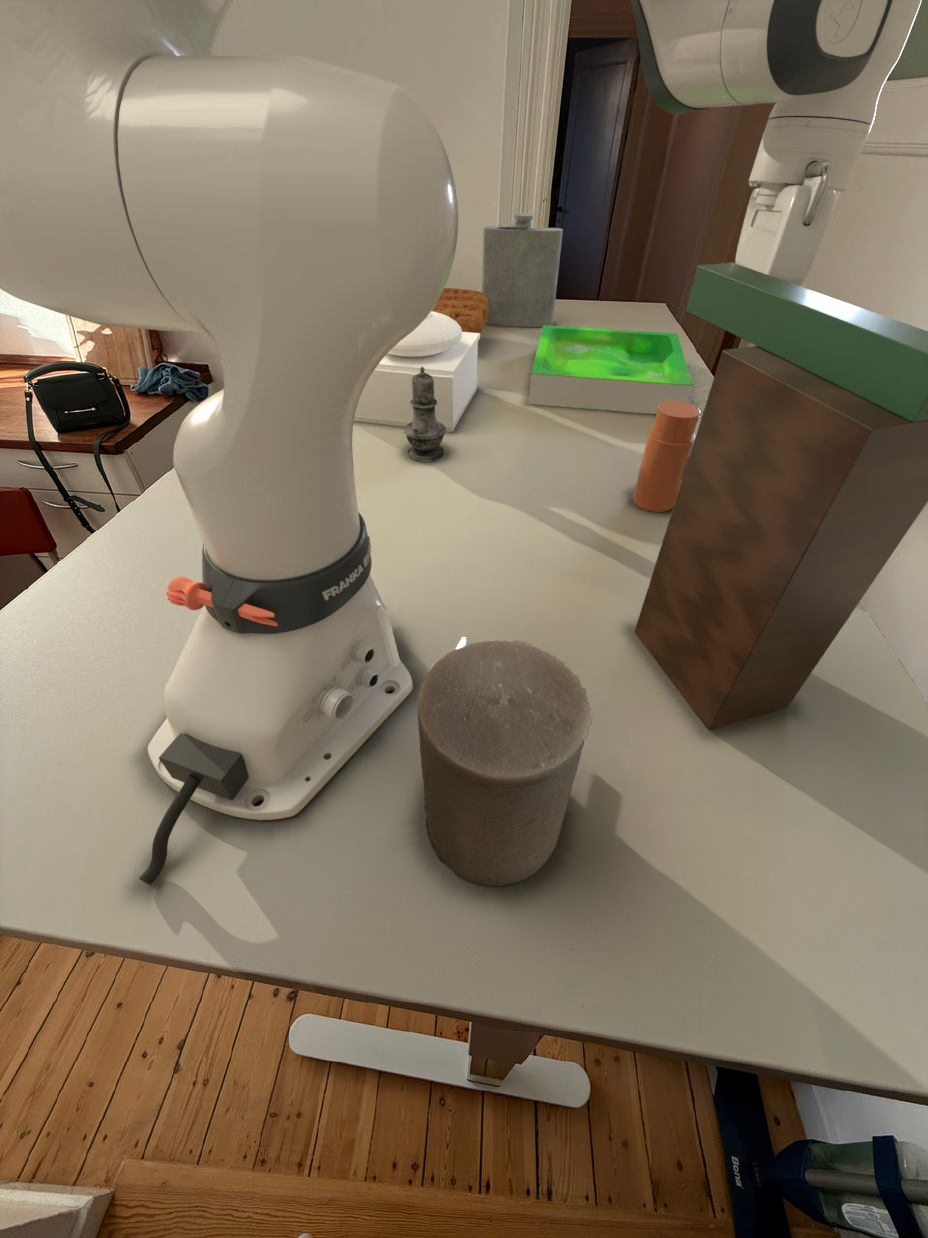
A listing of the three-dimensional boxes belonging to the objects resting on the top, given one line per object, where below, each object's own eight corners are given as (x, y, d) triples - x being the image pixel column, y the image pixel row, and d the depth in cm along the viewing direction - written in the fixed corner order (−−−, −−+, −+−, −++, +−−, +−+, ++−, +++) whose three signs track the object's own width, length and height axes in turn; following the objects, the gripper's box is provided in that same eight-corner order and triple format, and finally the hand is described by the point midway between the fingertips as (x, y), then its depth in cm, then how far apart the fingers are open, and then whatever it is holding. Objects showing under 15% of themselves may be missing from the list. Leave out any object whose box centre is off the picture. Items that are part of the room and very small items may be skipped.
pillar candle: (411, 872, 37) (392, 748, 27) (441, 749, 44) (436, 612, 34) (556, 900, 36) (596, 782, 26) (564, 769, 43) (598, 634, 33)
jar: (676, 513, 69) (706, 420, 60) (633, 510, 69) (657, 416, 61) (671, 492, 72) (699, 401, 64) (631, 488, 73) (653, 397, 65)
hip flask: (552, 322, 124) (564, 212, 110) (552, 328, 121) (564, 216, 107) (481, 319, 125) (484, 210, 111) (479, 325, 122) (482, 213, 108)
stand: (633, 632, 54) (722, 349, 36) (704, 615, 56) (822, 337, 38) (708, 731, 46) (872, 428, 28) (788, 707, 47) (991, 409, 29)
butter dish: (345, 419, 87) (328, 307, 76) (383, 377, 100) (374, 276, 89) (452, 432, 84) (452, 317, 73) (478, 387, 97) (481, 284, 86)
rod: (685, 311, 42) (697, 264, 40) (719, 307, 42) (732, 262, 40) (912, 422, 28) (948, 361, 26) (956, 415, 29) (996, 354, 27)
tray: (528, 403, 92) (531, 372, 89) (540, 352, 110) (543, 324, 106) (683, 416, 89) (692, 384, 86) (670, 361, 107) (677, 333, 103)
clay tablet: (417, 322, 123) (415, 281, 118) (493, 327, 121) (494, 285, 115) (389, 356, 108) (385, 311, 102) (476, 363, 105) (477, 317, 100)
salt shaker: (441, 464, 77) (439, 376, 69) (400, 460, 78) (393, 372, 70) (450, 445, 81) (449, 360, 73) (411, 441, 82) (406, 356, 74)
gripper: (875, 161, 44) (796, 348, 53) (812, 171, 60) (759, 314, 69) (793, 154, 45) (728, 339, 54) (751, 166, 61) (707, 307, 70)
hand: (745, 325), depth 61 cm, fingers open, 8 cm apart
